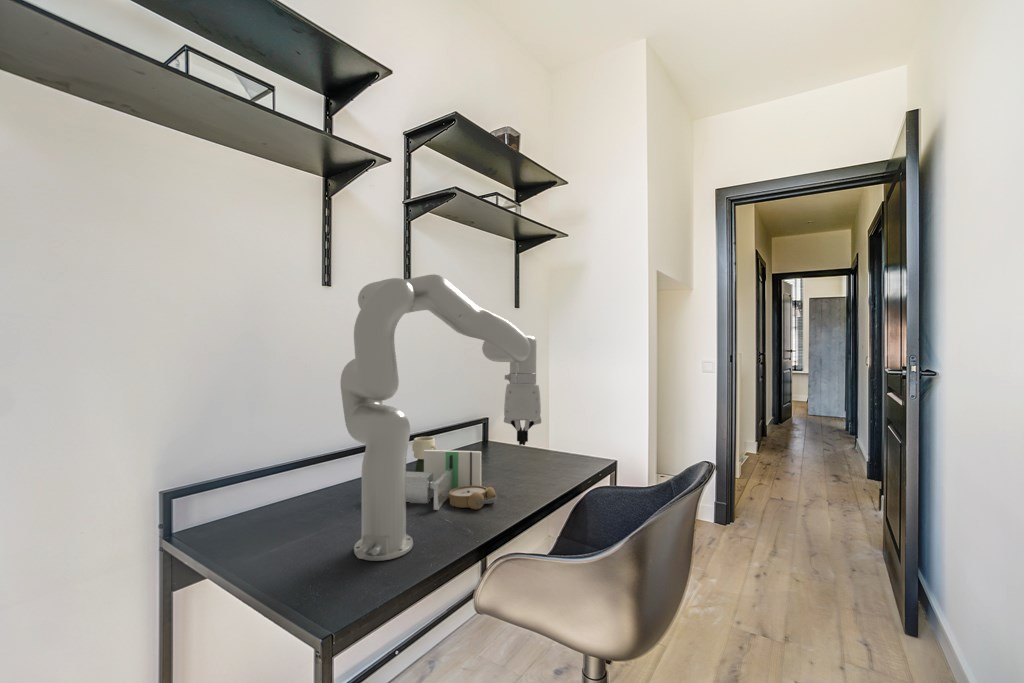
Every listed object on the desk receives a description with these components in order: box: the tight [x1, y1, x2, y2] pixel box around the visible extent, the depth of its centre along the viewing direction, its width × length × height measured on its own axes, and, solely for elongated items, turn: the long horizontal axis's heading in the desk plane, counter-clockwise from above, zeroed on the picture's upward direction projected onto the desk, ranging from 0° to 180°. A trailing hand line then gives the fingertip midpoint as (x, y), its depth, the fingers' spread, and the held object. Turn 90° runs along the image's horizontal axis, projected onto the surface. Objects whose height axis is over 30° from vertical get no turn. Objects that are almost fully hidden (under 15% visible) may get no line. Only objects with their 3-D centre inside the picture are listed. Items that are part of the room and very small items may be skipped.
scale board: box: [424, 449, 482, 489], centre depth 144 cm, size 1×18×12 cm, turn 83°
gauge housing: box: [406, 471, 434, 504], centre depth 135 cm, size 6×13×7 cm, turn 83°
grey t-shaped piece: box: [429, 455, 453, 511], centre depth 135 cm, size 17×11×11 cm, turn 173°
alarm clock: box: [446, 485, 498, 511], centre depth 132 cm, size 11×5×15 cm
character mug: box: [411, 436, 438, 472], centre depth 158 cm, size 11×7×13 cm, turn 57°
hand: (522, 443), depth 131 cm, fingers closed
